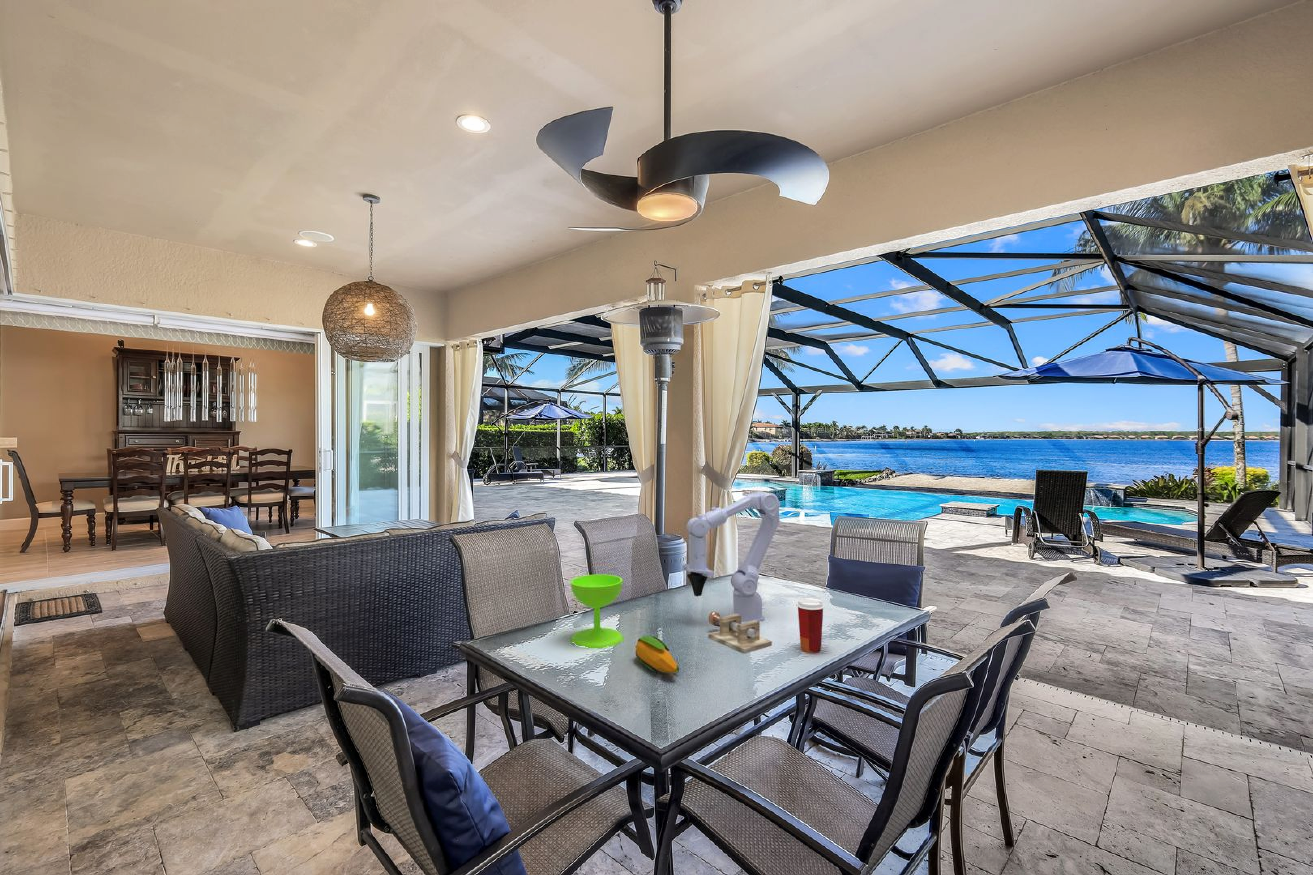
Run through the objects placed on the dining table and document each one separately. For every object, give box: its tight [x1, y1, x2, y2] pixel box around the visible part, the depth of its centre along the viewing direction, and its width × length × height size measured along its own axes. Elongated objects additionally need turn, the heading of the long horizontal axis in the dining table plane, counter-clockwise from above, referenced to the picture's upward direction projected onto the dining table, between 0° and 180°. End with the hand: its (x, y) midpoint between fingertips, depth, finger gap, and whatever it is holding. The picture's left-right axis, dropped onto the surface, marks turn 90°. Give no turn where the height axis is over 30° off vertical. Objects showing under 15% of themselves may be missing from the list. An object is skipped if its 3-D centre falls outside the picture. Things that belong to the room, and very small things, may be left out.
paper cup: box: [796, 597, 825, 654], centre depth 164 cm, size 8×8×14 cm
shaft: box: [708, 611, 756, 638], centre depth 174 cm, size 18×4×4 cm, turn 34°
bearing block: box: [707, 614, 773, 654], centre depth 171 cm, size 16×11×6 cm
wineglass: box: [570, 573, 624, 649], centre depth 174 cm, size 16×16×18 cm
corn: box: [635, 635, 680, 674], centre depth 151 cm, size 7×8×20 cm
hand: (697, 595), depth 188 cm, fingers closed
